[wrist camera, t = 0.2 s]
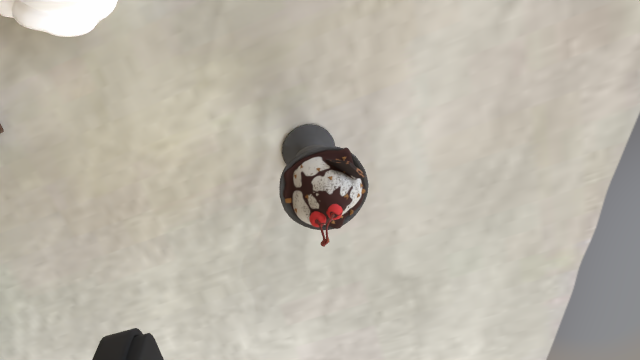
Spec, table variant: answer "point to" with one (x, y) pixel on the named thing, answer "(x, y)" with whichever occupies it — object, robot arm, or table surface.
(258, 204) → the table surface
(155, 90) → the table surface
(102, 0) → the rose
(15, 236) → the table surface
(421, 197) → the table surface
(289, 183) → the sundae
